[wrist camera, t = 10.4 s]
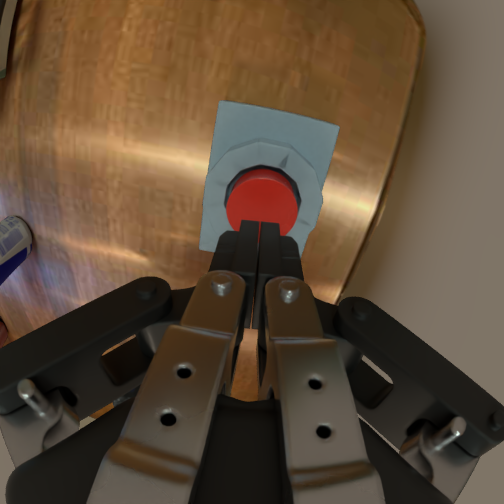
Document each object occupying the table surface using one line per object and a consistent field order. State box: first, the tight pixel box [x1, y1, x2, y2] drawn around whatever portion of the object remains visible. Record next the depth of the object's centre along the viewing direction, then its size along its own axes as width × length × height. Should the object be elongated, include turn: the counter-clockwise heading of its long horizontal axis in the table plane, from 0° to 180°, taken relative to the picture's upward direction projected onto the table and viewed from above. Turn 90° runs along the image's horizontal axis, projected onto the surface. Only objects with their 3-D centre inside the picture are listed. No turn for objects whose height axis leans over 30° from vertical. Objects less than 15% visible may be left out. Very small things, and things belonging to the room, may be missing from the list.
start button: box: [226, 169, 298, 243], centre depth 14 cm, size 4×4×2 cm
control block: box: [199, 100, 340, 259], centre depth 17 cm, size 10×7×4 cm
